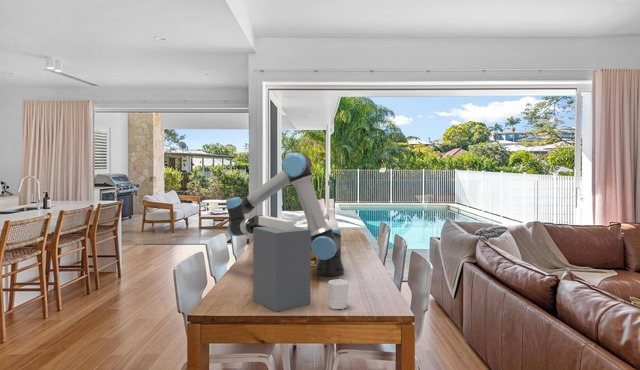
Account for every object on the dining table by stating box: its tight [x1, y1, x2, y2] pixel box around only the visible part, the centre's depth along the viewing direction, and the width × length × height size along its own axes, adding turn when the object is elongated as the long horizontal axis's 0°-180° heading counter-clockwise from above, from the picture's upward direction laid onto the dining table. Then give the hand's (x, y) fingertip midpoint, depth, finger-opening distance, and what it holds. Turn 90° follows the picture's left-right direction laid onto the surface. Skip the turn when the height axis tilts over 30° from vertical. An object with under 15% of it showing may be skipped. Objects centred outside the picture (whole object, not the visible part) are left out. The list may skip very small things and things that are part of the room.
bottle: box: [326, 207, 339, 230], centre depth 267 cm, size 8×8×30 cm
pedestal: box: [252, 226, 312, 313], centre depth 172 cm, size 18×16×30 cm
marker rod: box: [253, 214, 295, 231], centre depth 177 cm, size 26×4×4 cm, turn 37°
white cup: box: [327, 279, 349, 310], centre depth 167 cm, size 8×8×10 cm
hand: (280, 221), depth 197 cm, fingers open, 13 cm apart
